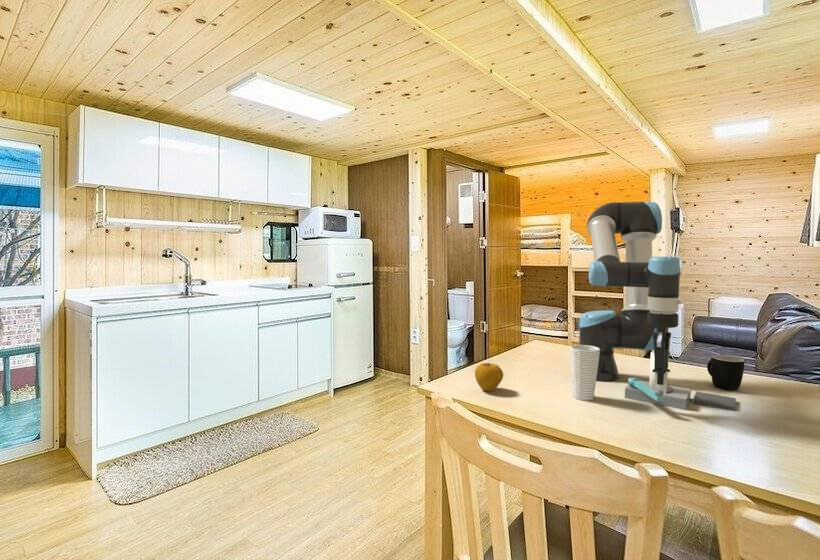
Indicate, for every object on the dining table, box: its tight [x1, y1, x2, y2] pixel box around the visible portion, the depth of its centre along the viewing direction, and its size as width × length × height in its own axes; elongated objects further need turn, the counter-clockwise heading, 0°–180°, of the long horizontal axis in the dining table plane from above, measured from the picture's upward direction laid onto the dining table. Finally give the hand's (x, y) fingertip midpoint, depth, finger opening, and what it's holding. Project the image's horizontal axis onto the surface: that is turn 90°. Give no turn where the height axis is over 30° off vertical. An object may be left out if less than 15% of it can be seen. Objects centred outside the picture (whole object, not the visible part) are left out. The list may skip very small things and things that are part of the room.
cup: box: [569, 344, 600, 402], centre depth 133 cm, size 8×8×16 cm
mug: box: [706, 354, 745, 392], centre depth 146 cm, size 12×9×10 cm
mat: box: [692, 391, 737, 412], centre depth 131 cm, size 10×10×1 cm
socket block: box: [624, 379, 692, 411], centre depth 134 cm, size 16×12×4 cm
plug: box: [644, 351, 673, 393], centre depth 134 cm, size 8×8×15 cm
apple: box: [474, 362, 504, 392], centre depth 140 cm, size 9×9×9 cm
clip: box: [627, 377, 663, 401], centre depth 128 cm, size 17×3×3 cm, turn 177°
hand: (660, 394), depth 123 cm, fingers closed
